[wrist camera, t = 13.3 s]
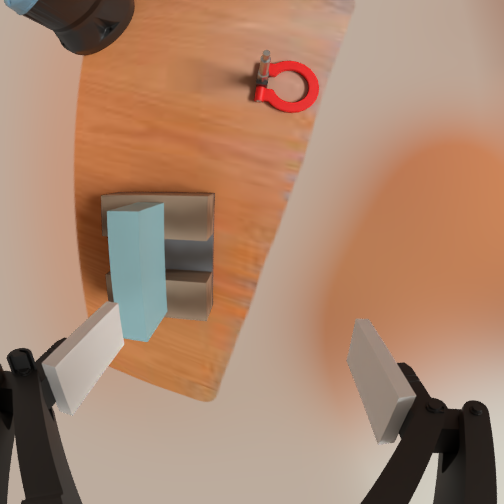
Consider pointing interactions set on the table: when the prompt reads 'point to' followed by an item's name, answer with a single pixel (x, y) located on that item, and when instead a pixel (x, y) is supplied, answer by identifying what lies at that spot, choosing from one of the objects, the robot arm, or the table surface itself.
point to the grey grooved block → (179, 248)
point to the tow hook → (274, 70)
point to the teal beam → (138, 267)
